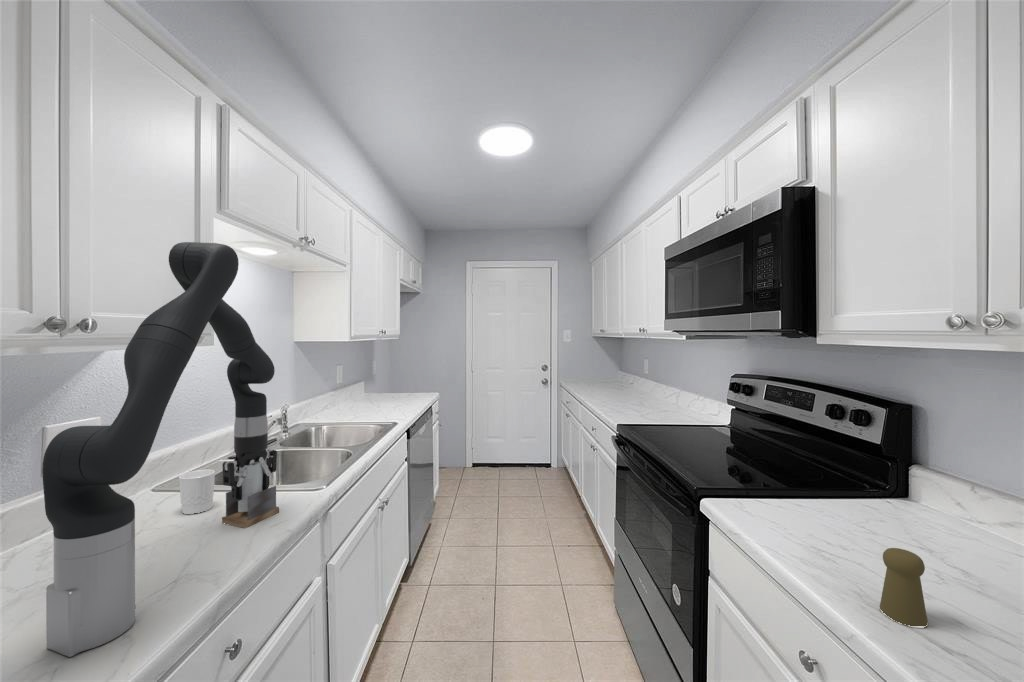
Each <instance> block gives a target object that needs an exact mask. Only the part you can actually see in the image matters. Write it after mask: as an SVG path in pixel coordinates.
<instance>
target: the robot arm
mask: <svg viewBox="0 0 1024 682" xmlns="http://www.w3.org/2000/svg"><path fill="white" fill-rule="evenodd" d="M168 265H169V268H170V270H171V273H172V275H173V276H174V278H175V279H176V281H177V283H178V284H179V285H180V286H181V288H182V289H183V290H184V292H182V293H181V294H180V295H178V296H177V297H175V298H173V299H172V300H170V301H169V302H166V304H164V305H162V306H161V307H159V308H158V309H156V310H155V311H153V312H152V313H151V314H149V315H148V316H147V317H146V318H145V319H144V320H143V321H142V322H141V323H140V325H139V326H138V328H137V330H136V331H135V333H134V334H133V336H132V337H131V339H130V341H129V343H127V346H126V348H125V350H124V354H123V356H124V357H123V364H124V371H125V375H126V376H125V377H126V380H127V386H128V389H127V395H126V398H125V400H124V403H123V405H122V407H121V408H120V411H119V412H118V414H117V416H116V418H115V419H114V420H113V421H112V424H110V425H78V426H72V427H69V428H65V429H64V430H62V431H60V432H58V433H57V434H56V435H55V436H54V437H53V438H52V439H51V440H50V442H49V444H48V445H47V446H46V449H45V452H44V454H43V461H42V467H41V468H42V469H41V471H42V475H41V476H42V486H43V488H42V489H43V499H44V512H45V516H46V518H47V520H48V522H49V523H50V524H51V526H52V528H53V529H52V531H53V532H52V533H53V583H50V584H48V585H47V586H46V589H45V590H46V592H45V593H46V595H45V596H46V600H45V601H46V610H45V611H46V614H45V616H46V619H45V620H46V624H45V625H46V631H45V632H46V648H47V649H48V650H51V651H53V652H56V653H58V654H61V655H63V656H65V657H68V658H70V657H73V656H76V655H77V654H79V653H81V652H84V651H87V650H88V651H89V650H91V649H94V648H97V647H99V646H102V645H104V644H106V643H108V642H111V641H113V640H114V639H116V638H118V637H120V636H121V635H123V634H124V633H125V632H126V631H128V630H129V629H130V628H131V627H132V626H133V625H134V623H135V621H136V610H137V608H136V510H135V509H136V508H135V503H134V501H133V500H132V499H130V498H128V497H126V496H124V495H121V494H120V493H119V492H116V491H115V490H114V489H113V488H112V487H111V485H113V486H114V485H119V484H124V483H125V482H128V481H129V480H131V479H132V478H134V477H135V476H136V475H137V474H138V473H139V471H140V470H141V469H142V468H143V466H144V464H145V462H146V461H147V459H148V457H149V454H150V451H151V450H152V447H153V445H154V442H155V439H156V436H157V434H158V431H159V429H160V425H161V422H162V419H163V417H164V415H165V412H166V409H167V407H168V404H169V402H170V400H171V398H172V395H173V393H174V391H175V389H176V386H177V385H178V383H179V380H180V378H181V377H182V374H183V372H184V370H185V368H186V367H187V365H188V363H189V362H190V360H191V357H192V356H193V354H194V352H195V350H196V348H197V345H198V343H199V341H200V339H201V336H202V334H203V332H204V330H205V328H206V327H207V324H208V323H209V325H210V326H211V328H212V330H213V332H214V333H215V336H216V337H217V339H218V341H219V343H220V345H221V347H222V350H223V351H224V353H225V355H226V356H227V357H228V358H229V359H232V360H230V362H229V363H228V365H227V369H226V376H227V380H228V382H229V385H230V388H231V391H232V395H233V399H234V402H235V407H234V408H235V413H234V414H235V416H234V417H235V419H234V425H233V426H234V427H233V429H234V430H233V434H234V435H233V437H234V439H233V441H234V442H233V450H234V451H233V452H234V453H235V458H234V460H230V461H223V462H222V485H223V486H227V487H230V488H231V490H230V491H231V497H232V499H233V500H234V501H240V500H242V486H241V484H242V482H243V480H244V478H246V477H247V467H246V468H245V469H244V471H243V473H239V466H240V467H241V468H243V467H244V466H245V465H252V464H254V462H260V464H261V467H262V471H263V490H266V489H268V488H270V476H271V475H272V474H273V473H276V472H277V466H278V465H277V463H278V462H277V461H278V459H277V458H278V451H277V449H268V447H269V443H268V441H269V437H268V436H269V433H268V432H269V429H268V428H269V425H268V424H269V423H268V417H267V415H268V414H267V413H268V411H267V410H268V409H267V407H268V405H267V401H268V399H267V396H266V394H265V393H263V392H258V391H255V390H252V388H251V387H250V385H254V384H255V385H257V384H259V385H261V384H262V385H263V384H267V383H269V382H270V381H272V379H273V378H274V376H275V371H276V370H275V364H274V363H273V360H272V359H271V358H270V356H269V355H268V354H267V353H266V351H265V350H264V349H263V348H262V347H261V346H260V345H259V344H258V342H257V341H256V339H255V337H254V334H253V332H252V330H251V327H250V325H249V324H248V322H247V321H246V320H245V318H244V317H243V316H242V315H241V314H240V313H239V312H238V311H237V310H235V308H233V307H232V306H231V305H229V304H228V303H227V302H226V301H225V300H224V299H223V298H224V297H225V295H226V294H227V292H228V291H229V290H230V288H231V286H232V285H233V283H234V281H235V279H236V277H237V275H238V271H239V266H240V265H239V258H238V254H237V252H236V251H235V249H233V248H232V247H231V246H229V245H227V244H224V243H218V242H217V243H216V242H200V241H199V242H196V241H182V242H177V243H176V244H174V245H173V246H172V247H171V249H170V251H169V253H168Z"/></svg>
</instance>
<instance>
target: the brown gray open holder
mask: <svg viewBox="0 0 1024 682" xmlns="http://www.w3.org/2000/svg"><path fill="white" fill-rule="evenodd" d="M278 513H280V506H277V486H276V485H274V486H271V487H268V489H266V490H263V491H261V492H258V493H255V494H253V495H250V496H248V512H238V501H234V500H233V499H232V497H231V490H230V491H228V492H225V516H223V517H221V523H225V524H224V525H227V524H229V525H228V526H232V525H234V526H233V527H237V526H238V527H239V528H242V527H243V529H246V528H249V527H250V526H253V525H255V524H257V523H260V522H261V521H264V520H266V519H268V518H270V517H273V516H274V515H277V514H278ZM238 527H237V528H238Z"/></svg>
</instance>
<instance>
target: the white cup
mask: <svg viewBox="0 0 1024 682" xmlns="http://www.w3.org/2000/svg"><path fill="white" fill-rule="evenodd" d="M215 476H216V471H215V470H214V469H198V470H192V471H188V472H185V473H182V474H180V475H179V476H178V482H179V494H180V504H181V512H182V514H183V513H184V514H183V515H186V514H190V515H195V514H194V513H198V514H201V513H200V512H202V513H204V512H203V511H205V512H207V511H209V510H211V509H212V508H213V505H214V496H215V495H214V492H215Z"/></svg>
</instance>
